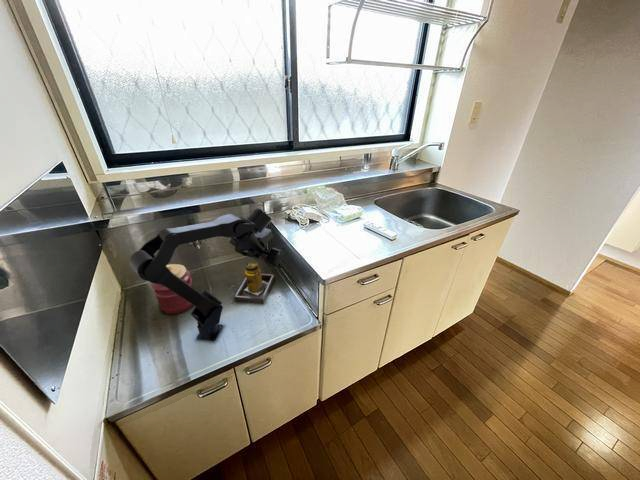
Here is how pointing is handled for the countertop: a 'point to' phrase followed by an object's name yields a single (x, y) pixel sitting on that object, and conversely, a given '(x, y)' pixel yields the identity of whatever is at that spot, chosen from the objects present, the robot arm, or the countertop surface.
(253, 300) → the tray
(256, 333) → the countertop surface
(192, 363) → the countertop surface
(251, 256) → the robot arm
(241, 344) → the countertop surface
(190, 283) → the kitchen canister
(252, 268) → the condiment
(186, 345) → the countertop surface
